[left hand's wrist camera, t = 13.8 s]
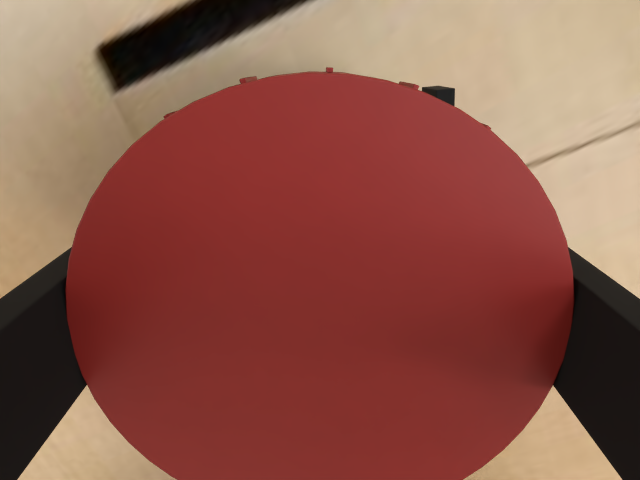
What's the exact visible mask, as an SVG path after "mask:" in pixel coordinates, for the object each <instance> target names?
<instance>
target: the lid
mask: <svg viewBox="0 0 640 480" xmlns="http://www.w3.org/2000/svg"><path fill="white" fill-rule="evenodd" d="M240 83H241V84H239V85H235V86H231V87H228V88H225V89H223V90H221V91H218V92H216V93H213V94H211V95H209V96H206V97H204V98H201V99H199V100H197V101H194V102H192V103H190V104H189V105H187V106H185V107H184V108H182V109H180V110H179V111H175V112H172V113H169V114H167V115H165V116H164V120H162V121H160V122H159V123H158V124H157V125H156V126H154V127H153V128H152V129H151V130H149V131H148V132H147V133H146V134H145V135H143V136H142V137H141V138H140V139H138V140H137V141H136V142H135V143H134V144H132V145H131V147H130V148H129V149H128V150H127V151H126V152H125V153H124V154H123V155H122V157H121V158H120V159H119V160H118V161H117V162H116V163H115V164H114V165H113V167H112V168H111V169H110V170H109V171H108V173H107V174H106V176H105V177H104V179H103V180H102V182H101V183H100V185H99V186H98V188H97V190H96V191H95V193H94V194H93V196H92V197H91V199H90V201H89V203H88V205H87V207H86V210H85V212H84V214H83V216H82V219H81V221H80V223H79V225H78V228H77V231H76V234H75V238H74V242H73V245H72V249H71V253H70V257H69V262H68V271H67V280H66V289H65V291H66V313H67V321H68V326H69V330H70V335H71V339H72V344H73V348H74V352H75V356H76V359H77V362H78V365H79V368H80V371H81V373H82V376H83V378H84V380H85V381H86V383H87V385H88V387H89V389H90V391H91V393H92V395H93V397H94V399H95V400H96V402H97V403H98V405H99V406H100V408H101V409H102V411H103V412H104V413H105V415H106V416H107V418H108V419H109V421H110V422H111V423H112V424H113V425H114V427H115V428H116V429H117V430H118V431H119V432H120V433H121V434H122V436H123V437H124V438H125V439H126V440H127V441H128V442H129V443H130V444H131V445H132V446H133V447H134V448H135V449H137V450H138V451H139V452H140V453H141V454H142V455H143V456H145V457H146V458H147V459H148V460H149V461H150V462H152V463H153V464H155V465H156V466H157V467H159V468H160V469H162V470H163V471H165V472H166V473H167V474H169V475H170V476H172V477H173V478H175V479H177V480H463V479H464V478H466V477H468V476H469V475H471V474H472V473H474V472H475V471H477V470H478V469H480V468H482V467H483V466H484V465H485V464H487V463H488V462H489V461H490V460H492V459H493V458H494V457H495V456H496V455H498V454H499V453H500V452H501V451H503V450H504V449H505V448H506V447H507V446H508V445H509V444H510V443H511V442H512V441H513V440H514V439H515V437H516V436H517V435H518V434H519V433H520V432H521V431H522V430H523V429H524V428H525V426H526V425H527V424H528V423H529V421H530V420H531V419H532V417H533V416H534V415H535V413H536V412H537V411H538V409H539V408H540V406H541V405H542V403H543V401H544V399H545V398H546V396H547V394H548V393H549V391H550V389H551V387H552V386H553V384H554V381H555V379H556V377H557V374H558V372H559V369H560V367H561V365H562V362H563V360H564V356H565V351H566V347H567V343H568V338H569V334H570V330H571V325H572V318H573V309H574V285H573V270H572V265H571V260H570V255H569V250H568V245H567V241H566V238H565V235H564V233H563V230H562V227H561V225H560V222H559V219H558V217H557V214H556V211H555V209H554V208H553V206H552V204H551V202H550V201H549V199H548V197H547V195H546V193H545V192H544V190H543V188H542V186H541V185H540V183H539V181H538V180H537V179H536V178H535V176H534V175H533V174H532V173H531V171H530V170H529V169H528V168H527V166H526V165H525V164H524V162H523V161H522V160H521V159H520V157H519V156H518V155H517V154H516V153H515V152H514V151H513V150H512V149H511V148H510V147H508V146H507V145H506V144H505V143H504V142H503V141H502V140H501V139H500V138H499V137H498V136H497V135H495V134H494V133H493V132H492V131H491V130H490V129H491V128H490V127H489V126H488V125H485V124H482V123H479V122H478V121H477V120H475V119H474V118H472V117H471V116H469V115H468V114H466V113H465V112H463V111H462V110H460V109H458V108H456V107H454V106H452V105H450V104H448V103H446V102H444V101H442V100H440V99H438V98H436V97H434V96H432V95H430V94H427V93H425V92H422V91H419V90H418V88H419V86H418V85H415V84H411V83H406V82H399V84H397V83H394V82H391V81H388V80H383V79H378V78H373V77H367V76H361V75H355V74H349V73H343V72H333V68H326V72H301V73H292V74H284V75H276V76H271V77H266V78H262V79H258V80H257V77H256V76H254V77H247V78H242V79H240Z"/></svg>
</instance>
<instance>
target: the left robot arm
mask: <svg viewBox="0 0 640 480" xmlns="http://www.w3.org/2000/svg"><path fill="white" fill-rule="evenodd" d="M71 249H72V247H71V248H70V249H68V250H67V251H66V252H64V253H63V254H61V255H60V256H59V257H57V258H56V259H55V260H53V261H52V262H50V263H49V264H48V265H46V266H45V267H44V268H42V269H41V270H39V271H38V272H37V273H35V274H34V275H32V276H31V277H30V278H28V279H27V280H26V281H24V282H23V283H21V284H20V285H19V286H17V287H16V288H15V289H13V290H12V291H10V292H9V293H8V294H6V295H5V296H3V297H2V298H1V299H0V480H17V479H18V478H19V476H20V475H21V474H22V472H23V471H24V470H25V468H26V467H27V466H28V464H29V463H30V461H31V460H32V459H33V457H34V456H35V455H36V453H37V452H38V451H39V449H40V448H41V446H42V445H43V444H44V442H45V441H46V440H47V438H48V437H49V436H50V434H51V433H52V431H53V430H54V429H55V427H56V426H57V425H58V423H59V422H60V421H61V419H62V418H63V417H64V415H65V414H66V412H67V411H68V410H69V408H70V407H71V406H72V404H73V403H74V402H75V400H76V399H77V397H78V396H79V395H80V393H81V392H82V391H83V389H84V388H85V387H86V385H87V383H86V381H85V380H84V378H83V376H82V373H81V371H80V368H79V365H78V362H77V359H76V356H75V352H74V348H73V344H72V339H71V335H70V330H69V326H68V321H67V313H66V291H65V289H66V280H67V271H68V262H69V257H70V253H71ZM568 250H569V255H570V260H571V265H572V270H573V285H574V309H573V318H572V325H571V330H570V334H569V338H568V343H567V347H566V351H565V356H564V360H563V362H562V365H561V367H560V369H559V372H558V374H557V377H556V379H555V381H554V384H553V386H554V387H555V388H556V390H557V391H558V392H559V394H560V395H561V396H562V398H563V399H564V401H565V402H566V403H567V405H568V406H569V407H570V409H571V410H572V411H573V413H574V414H575V416H576V417H577V418H578V420H579V421H580V422H581V424H582V425H583V426H584V428H585V429H586V431H587V432H588V433H589V435H590V436H591V437H592V439H593V440H594V441H595V443H596V444H597V445H598V447H599V448H600V450H601V451H602V452H603V454H604V455H605V456H606V458H607V459H608V460H609V462H610V463H611V465H612V466H613V467H614V469H615V470H616V471H617V473H618V474H619V475H620V477H621V478H622V480H640V299H639V298H638V297H636V296H635V295H633V294H632V293H631V292H629V291H628V290H627V289H625V288H624V287H622V286H621V285H620V284H618V283H617V282H615V281H614V280H613V279H611V278H610V277H609V276H607V275H606V274H604V273H603V272H602V271H600V270H599V269H598V268H596V267H595V266H593V265H592V264H591V263H589V262H588V261H587V260H585V259H584V258H582V257H581V256H580V255H578V254H577V253H575V252H574V251H573V250H571V249H570V248H569V247H568Z"/></svg>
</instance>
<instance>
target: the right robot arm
mask: <svg viewBox="0 0 640 480" xmlns="http://www.w3.org/2000/svg"><path fill="white" fill-rule="evenodd" d="M422 92H425V93H427V94H430V95H432V96H434V97H436V98H438V99H440V100H442V101H444V102H446V103H448V104H450V105H452V106H454V99H455V89H454V88H448V87H442V86H432V87H422Z"/></svg>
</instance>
